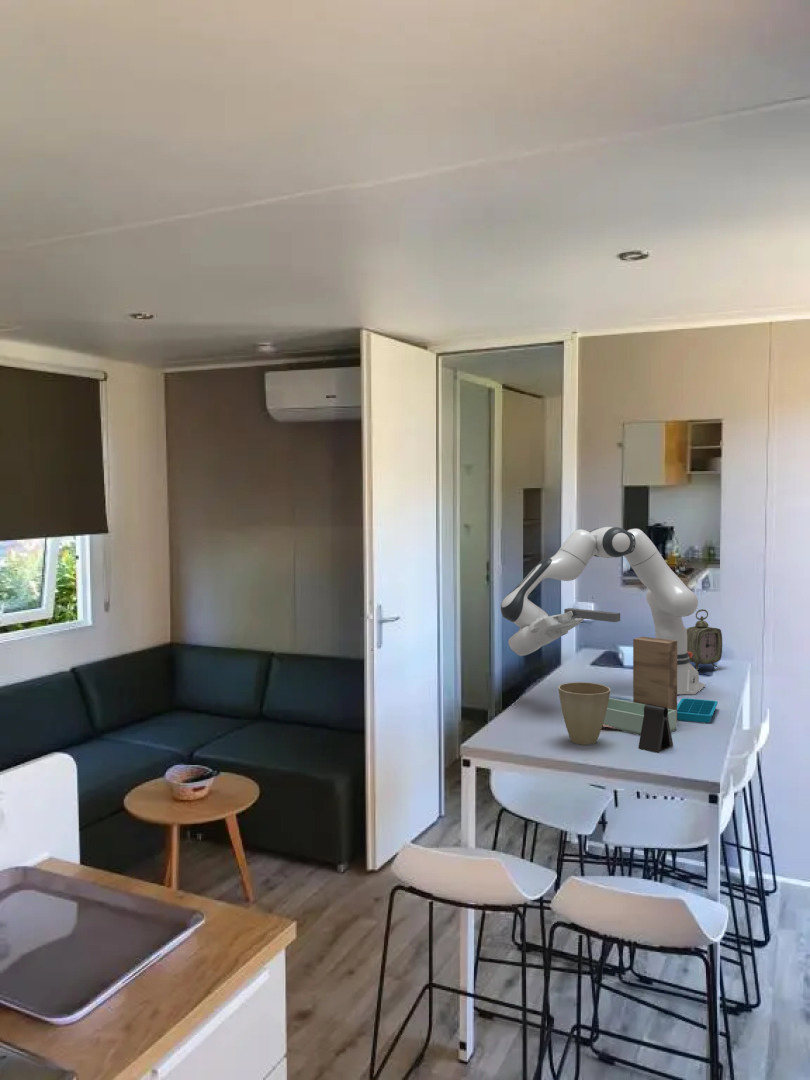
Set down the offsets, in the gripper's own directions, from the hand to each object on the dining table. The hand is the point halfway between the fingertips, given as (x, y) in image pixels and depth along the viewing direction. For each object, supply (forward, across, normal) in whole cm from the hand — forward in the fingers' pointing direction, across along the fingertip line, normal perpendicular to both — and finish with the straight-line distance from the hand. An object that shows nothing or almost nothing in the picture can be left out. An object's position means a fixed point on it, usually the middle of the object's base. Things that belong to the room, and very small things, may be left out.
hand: (576, 611), depth 272 cm
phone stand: (+14, -14, +48) cm, 52 cm away
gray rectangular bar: (+4, 0, +4) cm, 6 cm away
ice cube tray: (+6, +27, +44) cm, 52 cm away
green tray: (-2, 0, +38) cm, 39 cm away
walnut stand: (+2, +11, +41) cm, 42 cm away
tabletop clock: (-20, +92, +29) cm, 98 cm away
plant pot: (-2, -23, +39) cm, 45 cm away
